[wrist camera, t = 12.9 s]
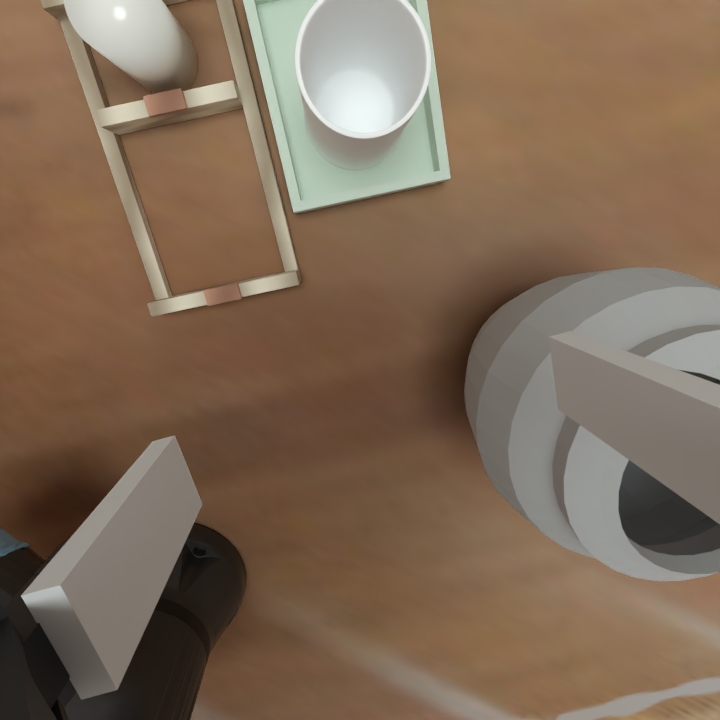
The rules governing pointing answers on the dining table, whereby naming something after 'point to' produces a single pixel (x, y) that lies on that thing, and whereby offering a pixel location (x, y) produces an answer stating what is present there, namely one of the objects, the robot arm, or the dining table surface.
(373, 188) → the tray
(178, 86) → the white capsule
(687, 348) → the vase
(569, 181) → the dining table surface
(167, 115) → the caddy
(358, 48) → the mug
